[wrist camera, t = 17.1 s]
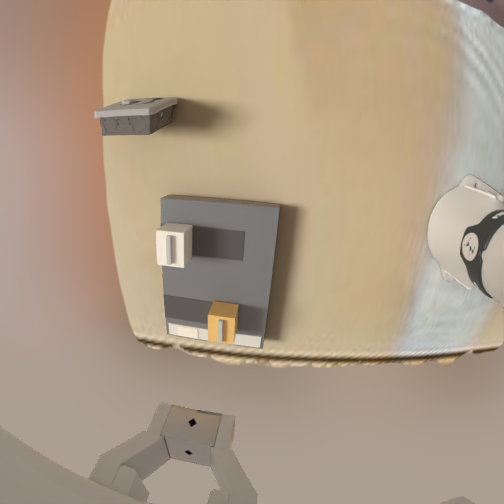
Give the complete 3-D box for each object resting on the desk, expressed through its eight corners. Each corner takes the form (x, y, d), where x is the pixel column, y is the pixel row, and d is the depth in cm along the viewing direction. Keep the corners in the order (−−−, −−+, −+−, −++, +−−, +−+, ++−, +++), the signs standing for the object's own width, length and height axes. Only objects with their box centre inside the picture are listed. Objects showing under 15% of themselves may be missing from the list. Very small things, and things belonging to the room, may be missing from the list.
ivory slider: (192, 224, 41) (182, 234, 37) (192, 257, 43) (182, 269, 39) (166, 222, 41) (154, 231, 37) (167, 254, 43) (155, 266, 39)
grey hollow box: (180, 97, 38) (153, 94, 29) (177, 130, 40) (151, 135, 32) (126, 99, 38) (92, 99, 30) (125, 130, 41) (91, 136, 32)
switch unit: (279, 204, 42) (279, 208, 39) (263, 338, 51) (262, 349, 47) (168, 194, 43) (160, 198, 40) (172, 324, 52) (166, 335, 49)
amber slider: (238, 304, 45) (234, 320, 41) (237, 330, 47) (232, 347, 42) (213, 301, 45) (206, 316, 41) (213, 326, 47) (206, 343, 43)
